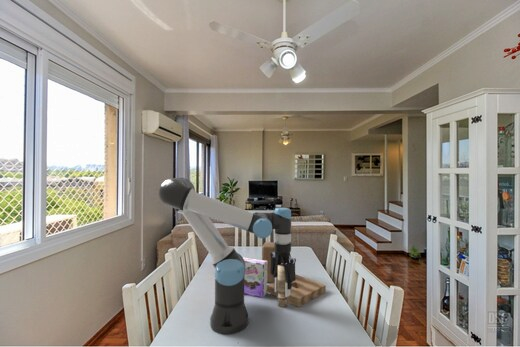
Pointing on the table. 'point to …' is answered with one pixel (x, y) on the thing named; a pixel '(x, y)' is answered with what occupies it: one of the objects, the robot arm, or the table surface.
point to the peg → (281, 286)
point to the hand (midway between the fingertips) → (282, 293)
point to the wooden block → (268, 258)
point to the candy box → (255, 277)
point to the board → (301, 290)
